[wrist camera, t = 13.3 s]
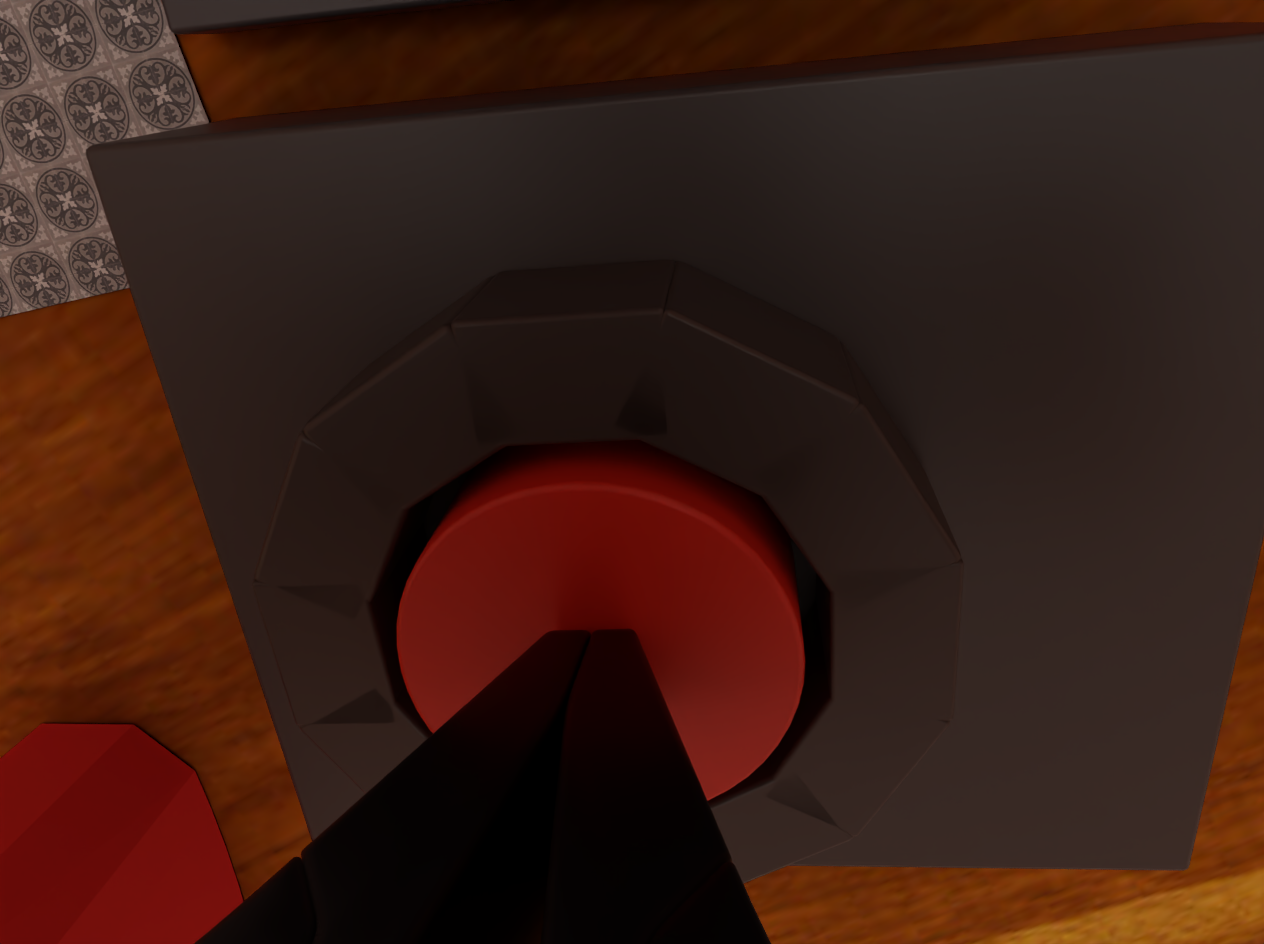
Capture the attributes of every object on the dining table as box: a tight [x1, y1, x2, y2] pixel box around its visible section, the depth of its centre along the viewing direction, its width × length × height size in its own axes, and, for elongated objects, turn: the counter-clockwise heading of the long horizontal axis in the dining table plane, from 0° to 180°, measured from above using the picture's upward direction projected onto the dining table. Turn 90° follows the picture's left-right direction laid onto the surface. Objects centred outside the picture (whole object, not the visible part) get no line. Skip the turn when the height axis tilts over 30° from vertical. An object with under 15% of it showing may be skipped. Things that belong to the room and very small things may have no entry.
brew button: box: [396, 440, 805, 801], centre depth 10 cm, size 4×4×2 cm
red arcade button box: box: [86, 22, 1264, 883], centre depth 11 cm, size 12×10×5 cm
